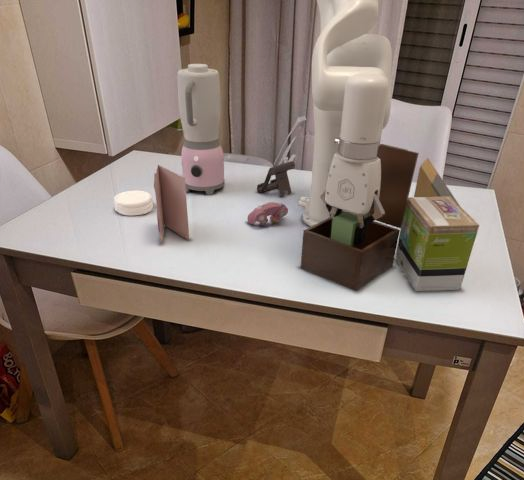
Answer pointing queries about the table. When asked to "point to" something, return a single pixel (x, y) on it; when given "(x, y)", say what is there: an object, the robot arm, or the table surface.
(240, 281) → the table surface
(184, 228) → the greeting card
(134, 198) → the coaster
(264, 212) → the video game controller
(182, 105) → the blender
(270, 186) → the tablet stand
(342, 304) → the table surface
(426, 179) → the sandwich container
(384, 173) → the lid
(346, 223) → the green block
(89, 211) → the table surface
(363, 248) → the wooden box
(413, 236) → the tea box
